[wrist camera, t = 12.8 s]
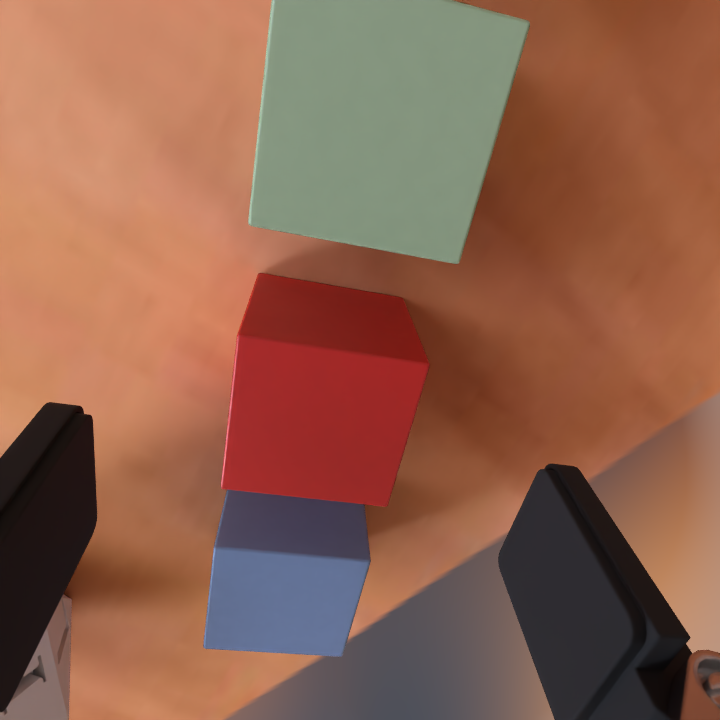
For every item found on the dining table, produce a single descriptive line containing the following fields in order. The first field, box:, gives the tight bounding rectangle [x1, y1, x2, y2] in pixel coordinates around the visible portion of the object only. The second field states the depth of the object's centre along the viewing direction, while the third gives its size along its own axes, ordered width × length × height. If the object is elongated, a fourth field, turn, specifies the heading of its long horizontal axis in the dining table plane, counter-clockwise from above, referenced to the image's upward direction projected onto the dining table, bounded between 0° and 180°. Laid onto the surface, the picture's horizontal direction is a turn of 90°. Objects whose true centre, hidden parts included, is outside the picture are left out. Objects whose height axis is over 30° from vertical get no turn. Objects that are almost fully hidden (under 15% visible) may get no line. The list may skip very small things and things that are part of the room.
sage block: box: [248, 0, 530, 264], centre depth 13 cm, size 5×5×5 cm
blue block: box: [203, 490, 371, 657], centre depth 20 cm, size 5×5×5 cm
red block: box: [221, 273, 430, 507], centre depth 16 cm, size 5×5×5 cm
